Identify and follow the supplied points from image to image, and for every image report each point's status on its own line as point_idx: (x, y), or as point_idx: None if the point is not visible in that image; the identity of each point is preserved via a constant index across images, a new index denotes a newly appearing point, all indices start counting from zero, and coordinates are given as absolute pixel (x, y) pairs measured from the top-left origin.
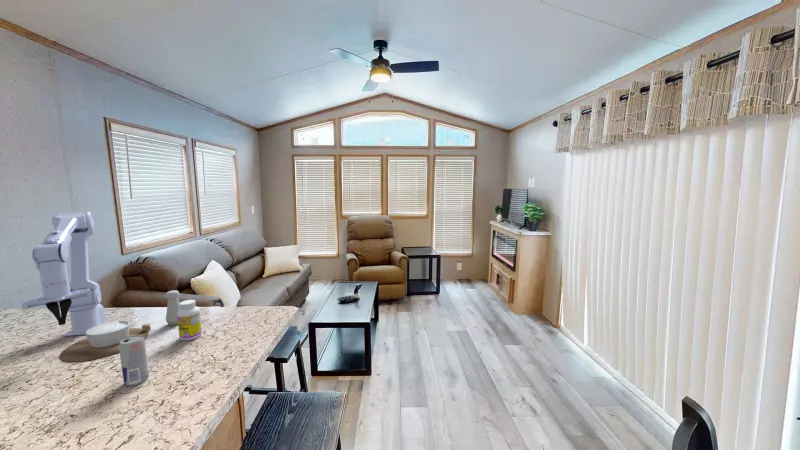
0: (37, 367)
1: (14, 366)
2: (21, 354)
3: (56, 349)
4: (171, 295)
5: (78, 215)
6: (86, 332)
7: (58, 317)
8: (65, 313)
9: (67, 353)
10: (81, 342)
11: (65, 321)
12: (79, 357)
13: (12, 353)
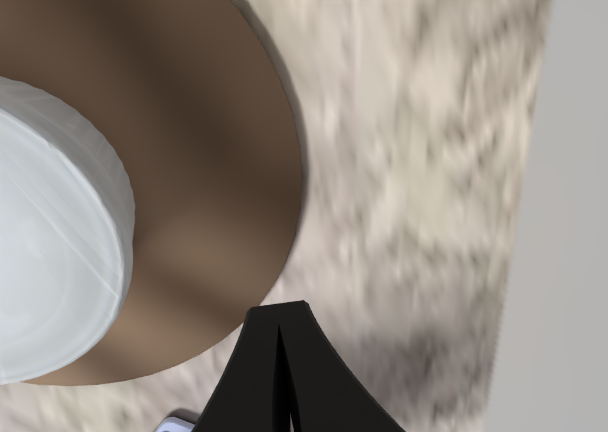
0: (408, 99)
1: (488, 221)
2: (446, 360)
3: (317, 314)
4: None
5: None
6: (117, 252)
7: (321, 374)
8: (218, 423)
9: (265, 185)
10: (201, 313)
11: (244, 326)
12: (191, 29)
13: (470, 396)
